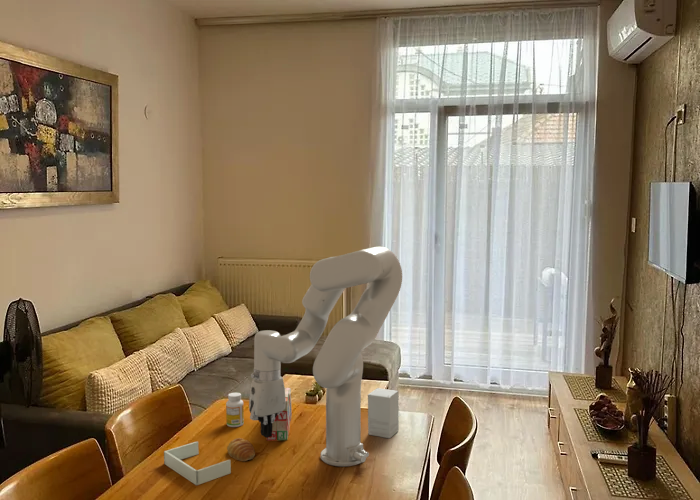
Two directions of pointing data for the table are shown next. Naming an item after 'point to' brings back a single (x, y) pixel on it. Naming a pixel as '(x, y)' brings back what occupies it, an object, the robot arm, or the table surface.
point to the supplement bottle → (234, 410)
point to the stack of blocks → (282, 420)
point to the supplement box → (383, 413)
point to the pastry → (241, 449)
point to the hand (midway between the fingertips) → (266, 435)
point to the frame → (195, 476)
